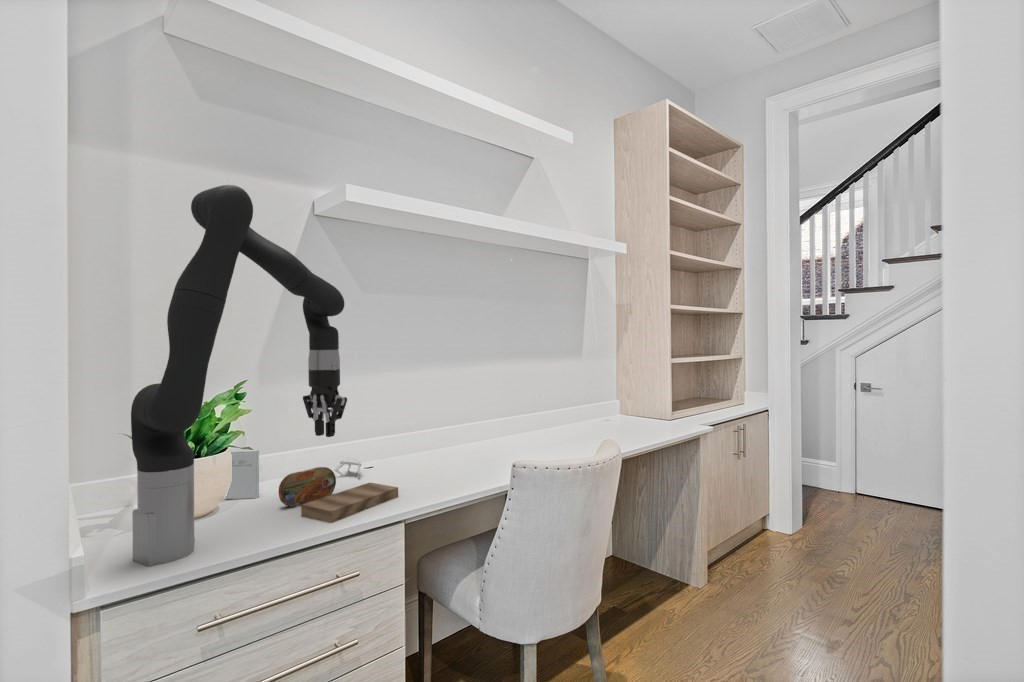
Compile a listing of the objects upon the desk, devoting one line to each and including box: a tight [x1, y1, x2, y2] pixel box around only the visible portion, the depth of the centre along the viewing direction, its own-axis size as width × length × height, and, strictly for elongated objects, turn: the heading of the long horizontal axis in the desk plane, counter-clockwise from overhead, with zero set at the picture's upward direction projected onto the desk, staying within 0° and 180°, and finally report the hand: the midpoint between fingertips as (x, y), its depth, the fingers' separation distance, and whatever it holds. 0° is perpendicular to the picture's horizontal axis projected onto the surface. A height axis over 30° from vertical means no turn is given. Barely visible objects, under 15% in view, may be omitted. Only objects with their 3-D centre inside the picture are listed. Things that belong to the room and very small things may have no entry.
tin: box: [278, 466, 337, 508], centre depth 135 cm, size 15×3×8 cm, turn 143°
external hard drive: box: [225, 449, 260, 500], centre depth 139 cm, size 2×8×12 cm, turn 96°
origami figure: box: [333, 457, 363, 480], centre depth 160 cm, size 12×8×5 cm
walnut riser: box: [300, 482, 399, 524], centre depth 131 cm, size 22×10×3 cm, turn 150°
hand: (325, 435), depth 134 cm, fingers open, 3 cm apart
